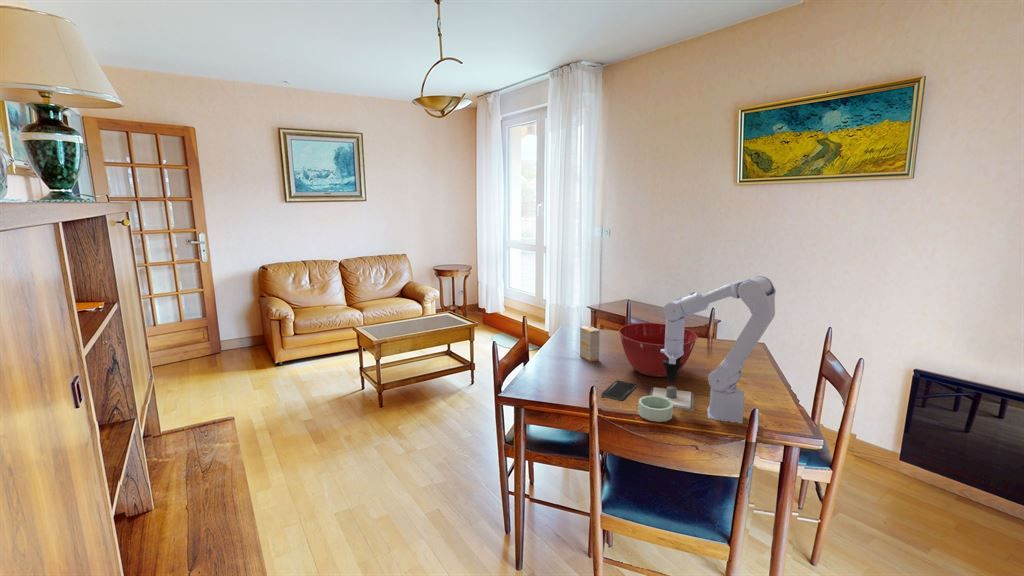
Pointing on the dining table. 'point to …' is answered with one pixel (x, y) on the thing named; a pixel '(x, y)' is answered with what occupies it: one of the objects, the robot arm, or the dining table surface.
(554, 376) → the dining table surface
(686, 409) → the mat
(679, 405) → the lid
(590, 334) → the supplement box
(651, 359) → the mixing bowl
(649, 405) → the bowl
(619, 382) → the phone
